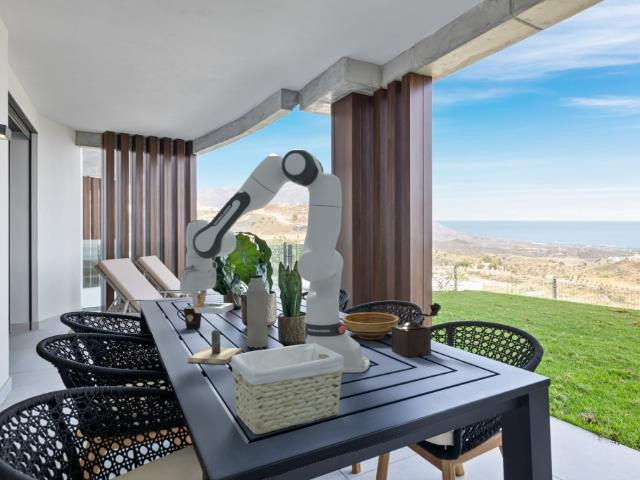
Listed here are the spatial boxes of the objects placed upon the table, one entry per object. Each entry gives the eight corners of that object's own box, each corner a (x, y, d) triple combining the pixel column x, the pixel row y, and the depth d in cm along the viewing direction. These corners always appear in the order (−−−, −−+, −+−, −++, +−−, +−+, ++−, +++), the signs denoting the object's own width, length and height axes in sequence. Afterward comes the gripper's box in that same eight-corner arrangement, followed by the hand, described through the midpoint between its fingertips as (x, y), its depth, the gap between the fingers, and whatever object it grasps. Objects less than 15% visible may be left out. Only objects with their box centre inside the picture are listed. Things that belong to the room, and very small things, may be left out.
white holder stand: (233, 308, 152) (233, 292, 152) (221, 314, 142) (221, 296, 142) (202, 307, 154) (202, 291, 154) (188, 312, 145) (188, 295, 144)
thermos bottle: (265, 341, 170) (263, 273, 170) (270, 346, 163) (268, 275, 163) (245, 343, 167) (244, 274, 167) (250, 348, 160) (248, 276, 160)
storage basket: (315, 394, 113) (314, 340, 113) (347, 416, 99) (346, 354, 99) (229, 414, 101) (228, 354, 101) (252, 442, 87) (251, 372, 87)
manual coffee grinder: (410, 358, 143) (409, 307, 143) (390, 351, 153) (390, 302, 153) (444, 352, 150) (443, 303, 150) (423, 345, 160) (422, 299, 160)
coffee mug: (206, 326, 200) (206, 306, 200) (192, 330, 193) (191, 309, 193) (190, 324, 207) (189, 304, 207) (175, 328, 199) (175, 307, 199)
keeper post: (242, 352, 155) (241, 325, 155) (225, 363, 141) (225, 334, 141) (207, 350, 158) (207, 324, 158) (188, 361, 144) (187, 333, 144)
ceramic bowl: (326, 334, 181) (326, 316, 181) (367, 326, 196) (366, 309, 195) (375, 348, 157) (374, 327, 157) (416, 338, 172) (416, 318, 172)
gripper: (192, 267, 138) (192, 308, 138) (219, 262, 158) (219, 299, 158) (175, 266, 140) (175, 307, 140) (204, 262, 160) (204, 298, 160)
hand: (199, 303), depth 149 cm, fingers closed on white holder stand, 3 cm apart
